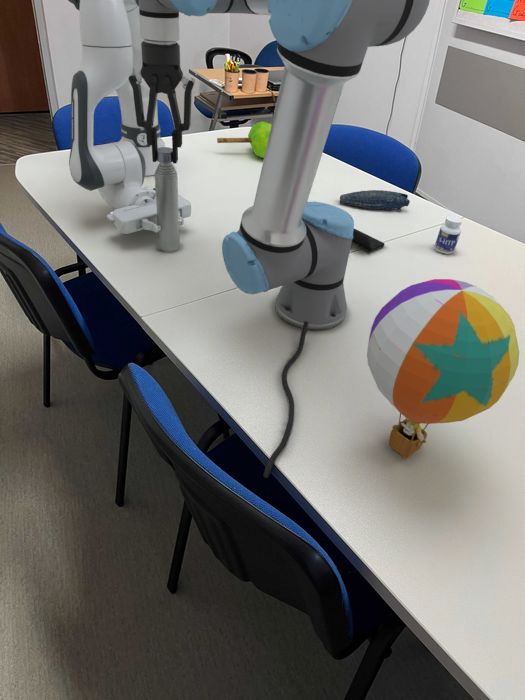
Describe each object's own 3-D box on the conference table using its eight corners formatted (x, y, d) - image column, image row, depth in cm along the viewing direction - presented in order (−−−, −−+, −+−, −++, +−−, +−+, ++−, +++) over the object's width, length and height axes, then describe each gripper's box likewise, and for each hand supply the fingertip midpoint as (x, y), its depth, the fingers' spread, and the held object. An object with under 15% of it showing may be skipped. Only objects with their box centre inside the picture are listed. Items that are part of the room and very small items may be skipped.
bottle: (159, 252, 128) (154, 156, 113) (157, 242, 132) (152, 148, 117) (180, 251, 129) (178, 156, 114) (178, 241, 133) (175, 148, 118)
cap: (178, 160, 117) (177, 150, 116) (165, 164, 115) (165, 154, 113) (165, 155, 119) (164, 145, 117) (152, 160, 116) (152, 149, 115)
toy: (318, 439, 84) (351, 278, 65) (393, 389, 94) (440, 239, 76) (417, 524, 73) (492, 360, 54) (489, 457, 83) (573, 301, 65)
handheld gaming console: (388, 238, 139) (380, 215, 131) (377, 260, 138) (367, 239, 130) (351, 229, 145) (341, 207, 137) (340, 251, 144) (328, 230, 136)
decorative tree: (214, 118, 187) (294, 118, 193) (214, 147, 194) (292, 146, 199) (220, 132, 174) (307, 132, 179) (220, 164, 180) (304, 162, 185)
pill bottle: (433, 251, 139) (442, 220, 133) (435, 243, 143) (444, 213, 137) (453, 256, 138) (464, 225, 132) (454, 247, 142) (465, 217, 136)
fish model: (408, 214, 157) (412, 198, 153) (339, 207, 158) (341, 191, 154) (406, 206, 162) (410, 190, 159) (339, 199, 163) (341, 183, 160)
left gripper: (101, 202, 126) (131, 224, 118) (172, 186, 137) (203, 204, 130) (104, 227, 130) (133, 248, 122) (173, 208, 141) (203, 227, 134)
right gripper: (205, 41, 105) (204, 158, 120) (121, 34, 105) (131, 152, 119) (201, 48, 100) (201, 169, 114) (112, 40, 99) (124, 163, 114)
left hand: (170, 225), depth 126 cm, fingers closed on bottle, 5 cm apart
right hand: (165, 160), depth 117 cm, fingers closed on cap, 4 cm apart
